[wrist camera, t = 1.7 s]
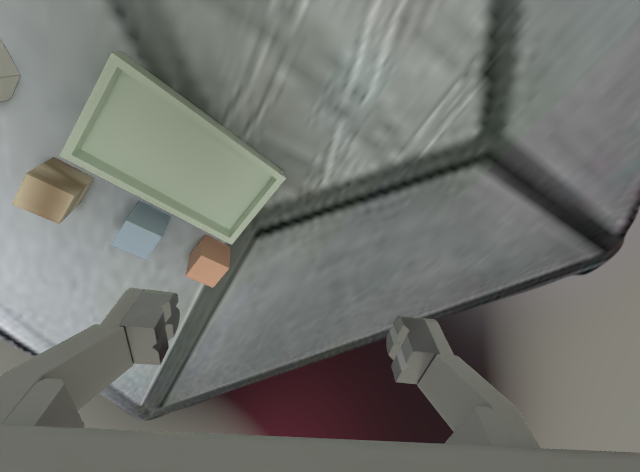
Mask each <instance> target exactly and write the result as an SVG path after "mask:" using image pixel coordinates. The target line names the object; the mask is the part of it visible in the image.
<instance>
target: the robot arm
mask: <svg viewBox="0 0 640 472" xmlns="http://www.w3.org/2000/svg"><path fill="white" fill-rule="evenodd" d="M177 303H178V295H177V294H176V293H170V292H162V291H155V290H147V289H146V290H145V289H137V288H129V289H128V290H126V291H125V293H124V294H123V295H122V297H121V298H120V299H119V301H118V302H117V303H116V304H115V306H114V307H113V308H112V310H111V311H110V312H109V314H108V315H107V316H106V318H105V319H104V320H103V322H102V323H101V324H100V325H99V324H95V325H93V326H91V327H89V328H87V329H85V330H84V331H82V332H80V333H78V334H76V335H74V336H72V337H71V338H69V339H67V340H65V341H63V342H61V343H59V344H58V345H56V346H54V347H52V348H50V349H48V350H46V351H44V352H43V353H41V354H39V355H37V356H35V357H33V358H31V359H30V360H28V361H26V362H24V363H22V364H20V365H18V366H17V367H15V368H13V369H11V370H9V371H7V372H5V373H4V374H2V375H1V376H0V472H640V453H635V452H611V451H589V450H567V449H544V448H540V446H539V444H538V442H537V441H536V439H535V438H534V436H533V434H532V432H531V431H530V429H529V427H528V425H527V424H526V422H525V420H524V419H523V417H522V415H521V414H520V412H519V410H518V409H517V407H515V406H514V405H513V404H512V403H511V402H510V401H509V400H507V399H506V398H505V397H504V396H503V395H502V394H501V393H499V392H498V391H497V390H496V389H495V388H494V387H493V386H491V385H490V384H489V383H488V382H487V381H486V380H485V379H483V378H482V377H481V376H480V375H479V374H478V373H476V372H475V371H474V370H473V369H472V368H471V367H470V366H468V365H467V364H466V363H465V362H464V361H463V360H462V359H460V358H459V357H458V356H454V355H453V353H452V351H451V348H450V346H449V344H448V342H447V341H446V339H445V336H444V334H443V332H442V330H441V328H440V326H439V324H438V322H437V321H436V320H434V319H424V318H422V319H421V318H413V317H403V316H397V317H396V318H395V320H394V322H393V324H394V328H393V329H391V330H390V331H389V333H388V336H387V351H388V355H389V356H390V357H391V358H392V359H393V360H394V361H393V363H392V365H391V366H392V370H393V373H394V377H395V380H396V382H401V383H411V384H418V385H417V386H418V387H419V388H420V390H421V391H422V392H423V393H424V394H425V396H426V397H427V398H428V400H429V401H430V402H431V403H432V405H433V406H434V407H435V408H436V410H437V411H438V412H439V414H440V415H441V416H442V417H443V419H444V420H445V421H446V422H447V424H448V425H449V426H450V427H451V429H452V430H453V431H454V433H453V434H452V435H451V436H450V438H449V439H448V440H447V442H446V443H445V444H432V443H409V442H387V441H365V440H342V439H322V438H298V437H277V436H254V435H230V434H209V433H185V432H163V431H141V430H119V429H97V428H96V429H95V428H85V426H84V423H83V421H82V419H81V417H80V415H79V413H78V410H79V409H80V408H82V407H83V406H84V405H85V404H87V403H88V402H89V401H90V400H91V399H92V398H94V397H95V396H96V395H97V394H99V393H100V392H101V391H102V390H104V389H105V388H106V387H107V386H108V385H110V384H111V383H112V382H113V381H114V380H116V379H117V378H118V377H119V376H121V375H122V374H123V373H124V372H125V371H127V370H128V369H129V368H130V367H131V366H133V364H154V365H161V363H162V360H163V358H164V356H165V354H166V352H167V350H168V348H169V346H168V340H170V339H171V338H172V337H174V335H175V333H176V330H177V327H178V324H179V318H180V312H179V309H178V308H177V307H176V305H177Z"/></svg>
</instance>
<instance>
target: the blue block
mask: <svg viewBox="0 0 640 472" xmlns="http://www.w3.org/2000/svg"><path fill="white" fill-rule="evenodd" d="M169 219H170V216H168V215H166V214H164V213H163V212H161V211H159V210H157V209H155V208H153V207H151V206H149V205H147V204H145V203H143V202H141V201H138V203H137V205H136V206H135V208H134V209H133V211H132V212H131V214H130V215H129V217H128V218H127V220H126V221H125V223H124V224H123V226H122V227H121V229H120V231H119V232H118V234H117V235H116V237H115V238H114V240H113V241H112V243H111V246H114V247H116V248H119V249H121V250H123V251H126V252H128V253H131V254H133V255H136V256H138V257H140V258H143V259H145V260H146V259H147V258H148V256H149V255H150V253H151V252H152V250H153V249H154V248H155V246H156V245H157V243H158V242H159V241H160V239H161V238H162V236H163V233H164V231H165V229H166V226H167V224H168V221H169Z"/></svg>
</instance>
